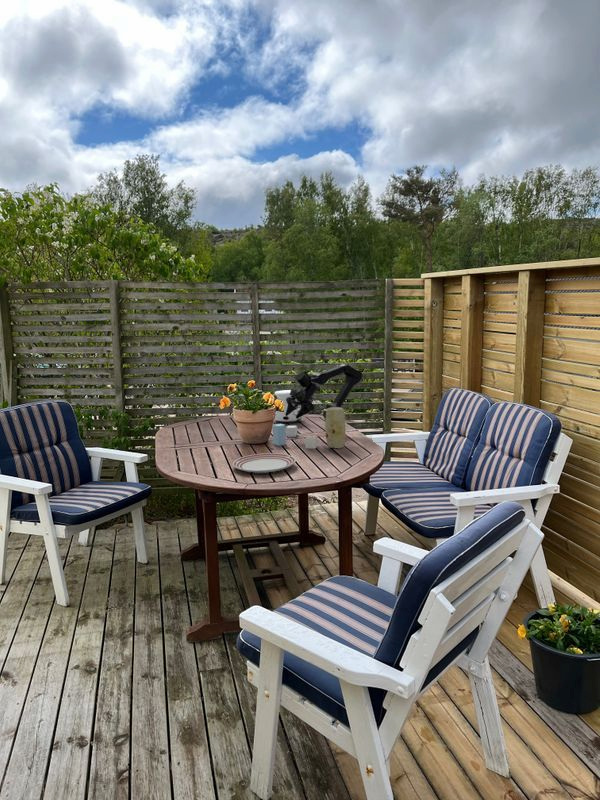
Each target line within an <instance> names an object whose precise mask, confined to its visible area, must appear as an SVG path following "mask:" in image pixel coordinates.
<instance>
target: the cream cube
mask: <svg viewBox="0 0 600 800" xmlns="http://www.w3.org/2000/svg"><path fill="white" fill-rule="evenodd" d="M317 447H318V436H317V435H316V436H315V435H313V436H312V435H311V436H310V435H307V436H306V437H305V449H316V448H317Z"/></svg>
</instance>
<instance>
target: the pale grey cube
mask: <svg viewBox="0 0 600 800" xmlns="http://www.w3.org/2000/svg"><path fill="white" fill-rule="evenodd" d="M285 430H286V436H288V438H289V437H290V438H295V437H297V436H296V435H298V426H297V425H287V426H285Z"/></svg>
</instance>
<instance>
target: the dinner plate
mask: <svg viewBox="0 0 600 800" xmlns="http://www.w3.org/2000/svg"><path fill="white" fill-rule="evenodd" d="M296 461H297V459H296V457H295V456H293V455H290V454H286V453H279V452H264V453H256V454H250V455H246V456H241V457H239V458H237V459H235V460H234V461H233V462H232V467H233V468H235V469H238V470H240V471H243V472H248V473H251V472H253V473H252V474H270V473H269V472H273V473H277V472H276V471H278V472H280V470H281V471H283V470H286V469H287V468H290V467H291V466H293V465H294V464H295V463H296Z"/></svg>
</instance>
